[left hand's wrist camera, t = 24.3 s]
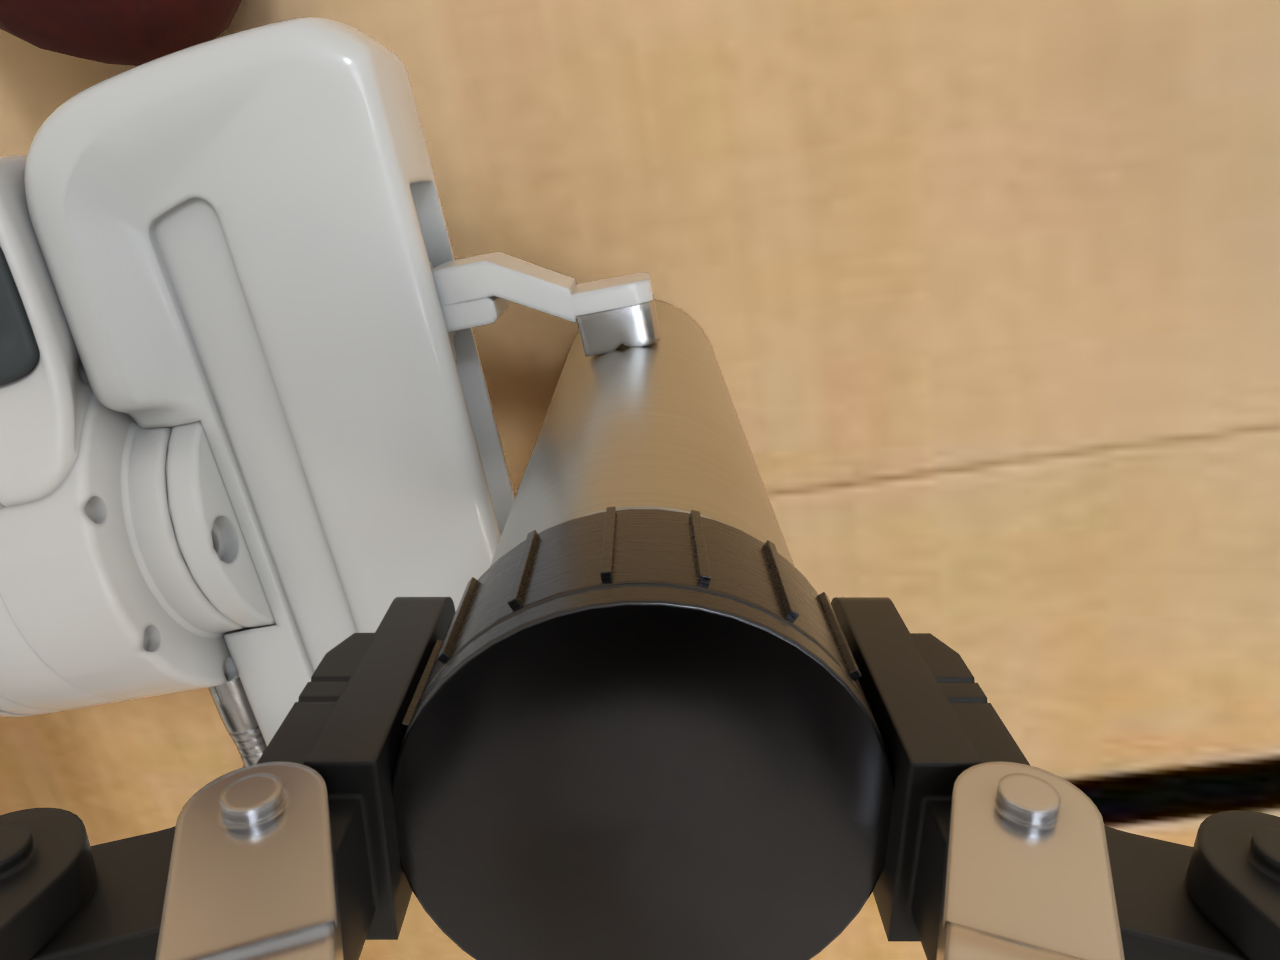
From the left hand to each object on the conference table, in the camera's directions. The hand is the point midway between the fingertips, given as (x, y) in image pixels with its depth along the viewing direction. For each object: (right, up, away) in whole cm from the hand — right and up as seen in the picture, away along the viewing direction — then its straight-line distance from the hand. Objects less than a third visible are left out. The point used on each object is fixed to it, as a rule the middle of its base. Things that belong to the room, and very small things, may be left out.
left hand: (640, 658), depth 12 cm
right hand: (+1, +4, +10) cm, 10 cm away
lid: (0, -1, -3) cm, 3 cm away
